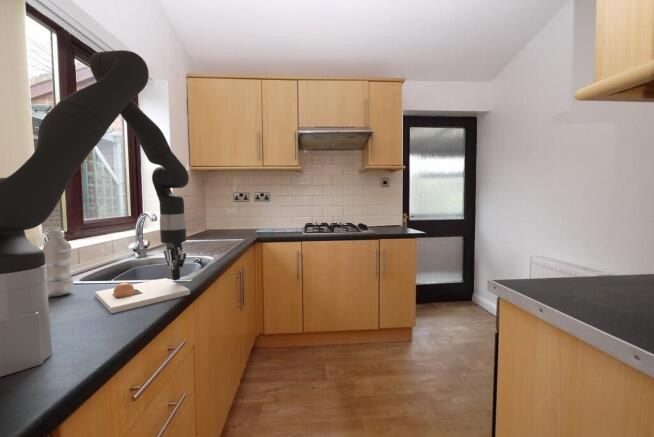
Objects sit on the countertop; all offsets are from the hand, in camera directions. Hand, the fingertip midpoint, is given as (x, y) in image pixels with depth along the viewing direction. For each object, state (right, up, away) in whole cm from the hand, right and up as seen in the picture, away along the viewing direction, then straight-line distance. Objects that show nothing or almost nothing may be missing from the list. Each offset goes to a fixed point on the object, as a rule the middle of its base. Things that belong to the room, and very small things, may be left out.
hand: (175, 279), depth 97 cm
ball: (-10, -1, -11) cm, 15 cm away
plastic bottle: (-33, -4, -6) cm, 33 cm away
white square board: (-6, -3, -7) cm, 10 cm away
